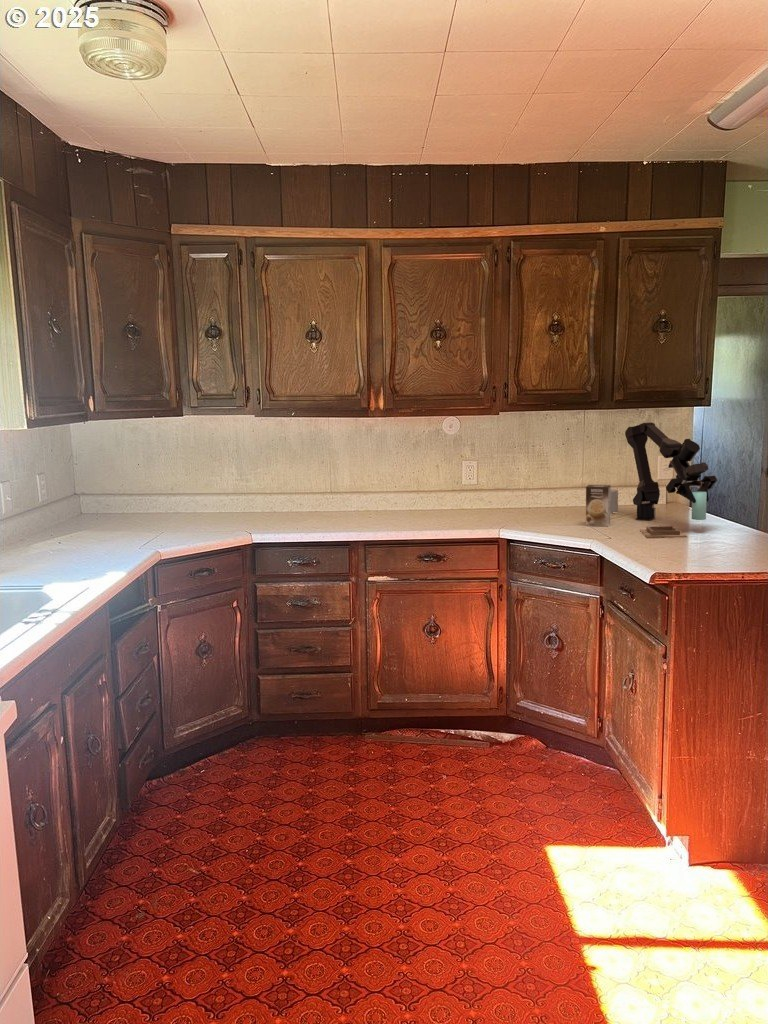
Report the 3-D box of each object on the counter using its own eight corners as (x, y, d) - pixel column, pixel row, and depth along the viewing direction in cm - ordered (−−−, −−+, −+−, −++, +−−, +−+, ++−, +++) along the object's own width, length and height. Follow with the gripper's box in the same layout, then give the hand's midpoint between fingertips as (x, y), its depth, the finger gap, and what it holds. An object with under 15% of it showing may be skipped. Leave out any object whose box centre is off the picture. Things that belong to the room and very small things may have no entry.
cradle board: (639, 531, 293) (639, 525, 293) (678, 530, 291) (678, 525, 291) (646, 538, 280) (646, 532, 279) (687, 537, 278) (687, 531, 277)
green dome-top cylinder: (690, 519, 285) (690, 492, 283) (693, 517, 289) (693, 491, 287) (704, 520, 282) (705, 493, 280) (707, 518, 286) (707, 491, 285)
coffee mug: (611, 514, 334) (611, 491, 332) (590, 512, 341) (590, 490, 339) (625, 510, 343) (625, 488, 342) (605, 508, 350) (605, 487, 349)
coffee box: (585, 526, 310) (584, 486, 307) (587, 523, 315) (587, 484, 313) (608, 526, 306) (608, 486, 303) (611, 524, 311) (610, 484, 309)
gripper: (671, 457, 283) (689, 490, 274) (714, 453, 288) (734, 486, 279) (658, 476, 292) (675, 508, 283) (700, 472, 297) (719, 504, 288)
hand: (701, 501), depth 283 cm, fingers closed on green dome-top cylinder, 5 cm apart
